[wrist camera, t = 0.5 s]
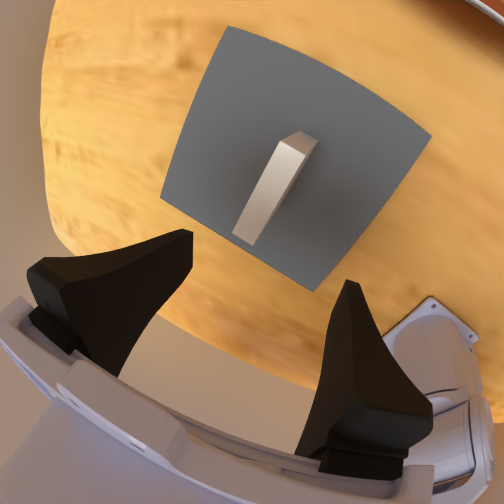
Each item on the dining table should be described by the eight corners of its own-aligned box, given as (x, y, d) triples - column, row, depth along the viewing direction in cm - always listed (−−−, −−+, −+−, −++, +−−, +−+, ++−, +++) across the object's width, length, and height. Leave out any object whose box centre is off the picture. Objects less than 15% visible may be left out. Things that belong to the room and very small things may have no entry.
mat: (428, 135, 15) (431, 136, 14) (314, 286, 24) (312, 292, 23) (232, 28, 15) (227, 25, 14) (164, 194, 24) (159, 197, 24)
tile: (318, 140, 17) (305, 155, 12) (278, 208, 21) (252, 245, 16) (299, 129, 17) (278, 140, 12) (261, 198, 21) (230, 232, 16)
